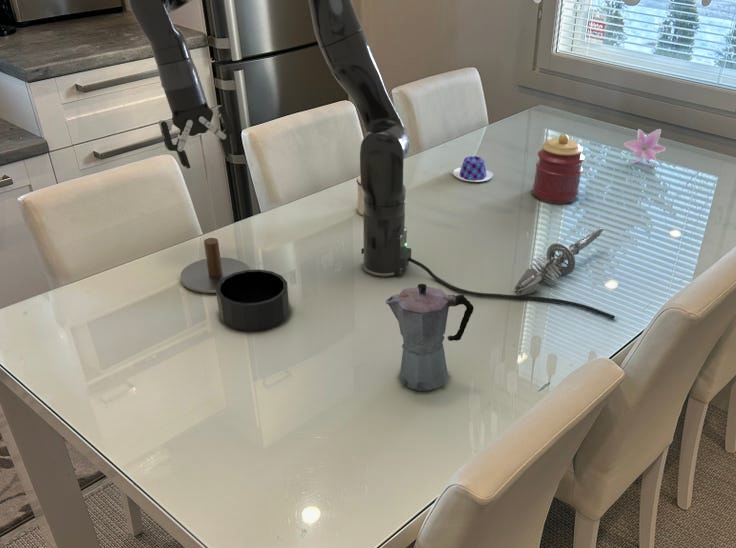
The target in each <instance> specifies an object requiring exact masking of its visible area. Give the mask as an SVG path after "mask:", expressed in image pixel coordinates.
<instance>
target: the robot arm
mask: <svg viewBox="0 0 736 548" xmlns="http://www.w3.org/2000/svg"><path fill="white" fill-rule="evenodd" d="M307 1H308V6H309V7H308V8H309V12H310V17H311V22H312V27H313V31H314V35H315V38H316V40H317V43H318V46H319V49H320V51H321V53H322V56H323V59H324V60H325V62H326V65H327V67H328V69H329V71H330V73H331V74H332V76H333V77H334V78H335V80H336V81H337V82H338V84H339V85H340V86H341V87H342V89H343V90H344V91H345V92H346V93H347V94H348V96H349V97H350V98H351V100H352V102H353V103H354V104H355V107H356V109H357V110H358V113H359V115H360V118H361V121H362V124H363V127H364V129H365V133H366V135H365V136H364V137H363V138H362V140H361V143H360V147H359V148H360V149H359V171H360V174H359V175H360V176H361V187H362V190H363V215H362V216H363V217H362V218H363V219H362V220H363V221H362V222H363V223H362V225H363V248H361V255H363V258H362V261H363V262H362V267H363V270H364V271H365V273H367V274H369V275H372V276H375V277H379V278H380V277H381V278H387V277H394V276H395V277H400V275H401V274H402V272H403V270H405V269H407V267H408V265H409V263H412V264H414V265H417V266H418V267H420V268H421V269H423V270H424V271H426V272H427V273H428V275H429V276H430V277H431V278H433V279H434V280H435V281H437V282H438V283H439V284H441V285H443V286H444V287H446V288H448V289H450V290H452V291H456V292H459V293H462V294H464V295H465V294H466V295H470V296H474V297H475V296H476V297H484V298H485V297H486V298H499V299H500V298H501V299H511V300H512V299H514V300H531V301H542V302H551V303H558V304H564V305H567V306H568V305H570V306H574V307H577V308H581V309H584V310H587V311H591V312H594V313H596V314H599V315H601V316H603V317H607V318H609V319H612V320H615V318H616V316H615V315H614V314H611V313H608V312H605V311H603V310H601V309H598V308H595V307H592V306H589V305H586V304H582V303H579V302H574V301H571V300H565V299H560V298H552V297H543V296H535V295H534V296H533V295H518V296H516V294H503V293H502V294H500V293H491V292H490V293H489V292H477V291H471V290H467V289H464V288H461V287H457V286H454V285H452V284H450V283H448V282H446V281H444V280H443V279H441V278H440V277H439V276H437V275H436V274H434V272H433V271H432V270H431V269H430V268H429V267H427V265H424V264H423V263H421V262H420V261H418V260H416V259H414V258H412V248H411V247H407V245H408V243H407V235H408V229H407V227H406V226H405V225H406V224H405V222H406V221H405V219H406V193H407V191H406V189H407V188H406V186H405V184H404V160H405V158H406V157H407V155H408V152H409V149H410V136H409V134H408V130H407V128H406V127H405V125H404V122H403V120H402V119H401V117H400V115H399V113H398V111H397V110H396V108H395V105H394V104H393V101H392V100H391V98H390V96H389V94H388V92H387V89H386V86H385V83H384V80H383V78H382V77H383V76H382V75H381V74H382V73H381V72H380V69H379V67H378V64H377V61H376V59H375V56H374V54H373V51H372V48H371V45H370V42H369V40H368V38H367V35H366V32H365V30H364V28H363V25H362V23H361V21H360V18H359V17H358V14H357V11H356V9H355V7H354V4H353V2H352V0H307ZM127 2H128V5H129V8H130V11H131V13H132V15H133V18H134V19H135V21H136V22H137V25H138V27H139V29H140V30H141V31H142V33H143V35H144V36H145V38H146V39H147V41H148V43H149V46H150V49H151V52H152V55H153V58H154V62H155V64H156V68H157V71H158V76H159V80H160V85H161V87H162V89H163V92H164V94H165V97H166V100H167V104H168V106H169V109H170V112H171V119H167V120H162V119H161V120H159V121H158V125H159V129H160V133H161V136H162V140H163V143H164V146H165V149H166V150H168V151H170V152H176V154H177V156H178V159H179V162H180V164H181V166H182V167H184V168H185V169H187V170H188V169H191V165H190V162H189V158H188V155H187V153H186V150H184V149H185V145H186V142H187V141H188V139H189V137H194V136H197V135H199V134H206V133H207V132H208V131H209V132H211V133H212V134H214V135H215V136H216V137H217V138H218V140H217V141H218V144H219V147H220V151H221V153H222V156H223V157H224V158H225V159H227V158H229V157H230V154H231V149H230V145H229V143H228V141H227V140H228V137H229V136H231V135H233V134H234V128H233V125H232V123H231V121H230V117H229V115H228V112H227V110H226V107H225V106H224V105H222V104H221V105H220V104H218V105H217V106H216V107H213V108H210V106H209V104H208V101H207V98H206V94H205V91H204V89H203V85H202V82H201V78H200V76H199V72H198V69H197V67H196V65H195V63H194V60H193V58H192V54H191V52H190V47H189V44H188V42H187V39H186V37H185V34H184V33H183V31H182V29H180V28H178V27H175V25H174V23H173V22H172V20H171V17H170V15H169V14H170V13H172V12H174V11H176V10H178V9H180V8H182V7H183V6H185V5H187V4H189V3H190V2H192V0H127ZM214 115H215V116H216V117H217V118H219V120H220V121H221V124H222V127H223V130H221V129H219V128H218V127H217V126H215V125H214V124H213V123H212V120H213V117H214ZM173 126H175V128H177V129H178V130H179V131H178V134H177V139H176V142H175V143H174V142H173V140H172V137H171V131H172V129H173V128H172V127H173Z"/></svg>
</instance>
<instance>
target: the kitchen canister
mask: <svg viewBox="0 0 736 548" xmlns="http://www.w3.org/2000/svg"><path fill="white" fill-rule="evenodd" d="M583 150H584V148H583V147H582V145H580V144H579V143H578V141H576V140H575V139H574V140H573V139H571V138H569V136H568V134H566V133H562V134H560V135H559V136H558V137H552V138H549V139H548V140H545V141H543V142H542V143H541V148H540V149H539V150H538V151H537V157H538V160H537V162H535V173H534V175H535V176H534V181H533V184H532V194H533V196H534V197H535V198H536V199H538V200H540V201H542V202H546V203H550V204H558V205H560V204H562V205H563V204H564V205H565V204H569V203H572V202H574V201H576V199H577V197H578V195H579V192H580V188H579V187H580V183H581V182H580V181H581V176H582V172H583V167H582V163H583V162H584V161H585V155H584V154H583Z"/></svg>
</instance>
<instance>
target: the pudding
mask: <svg viewBox="0 0 736 548" xmlns="http://www.w3.org/2000/svg"><path fill="white" fill-rule="evenodd" d="M452 174H453V176H454V177H456V178H457V179H459V180H462V181H466V182H473V183H474V182H475V183H476V182H477V183H478V182H486V181H489V180H491V179H492V178H493V177H494V173H493V172H492V170H489V169H487V168H486V163H485V160H484V159H483V158H482V157H480V156H476V155H469V156H467V157H465V158H464V159H463V161H462V165H461V166H460V167H456V168H454V170H452Z"/></svg>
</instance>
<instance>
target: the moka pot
mask: <svg viewBox="0 0 736 548" xmlns="http://www.w3.org/2000/svg"><path fill="white" fill-rule="evenodd" d="M384 302H385V304H386V305H388V307H389V308H390V310H391V311H392V313H393V315H394V317H395V318H396V320H397V322H398V326H399V331H400V332H399V333H400V335H401V337H402V344H401V348H402V353H401V361H400V362H401V363H400V371H399V378H400V381H401V383H402V384H403V385H404V386H405V387H407V388H408V389H411V390H414V391H419V392H424V391H432V390H436V389H438V388H440V387H442V386H443V385H444V384H445V383H446V382H447V380H448V377H449V372H448V365H447V360H446V353H445V348H444V343H443V342H444V340H445V336H444V335H445V334H446V329H447V322H448V316H449V308H450V307H454V308H455V307H457V306H459V305H464V307H465V310H464V313H463V316H462V318H461V321H460V325H459V327H458V330H457V331H456V334H454V335H448V336H447V340H448V341H449V342H453V341H460V340H461V339H462V338H463V335H464V334H465V330H466V329H467V325H468V323H469V321H470V318H471V316H472V314H473V313H474V305H473V304H472V303H471V301H470V300H468V299H467V297H465V294H457V295H455V294H446V293H445V292H444V291H443V290H442V289H441V288H437V287H433V286H429V285H427V284H425V283H419V284H418V285H417V286H412V287H408V288H403V289H402V290H401V291H400V292H399V293H397V294H394V295H390V296H389V297H387V299H385V301H384Z"/></svg>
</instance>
